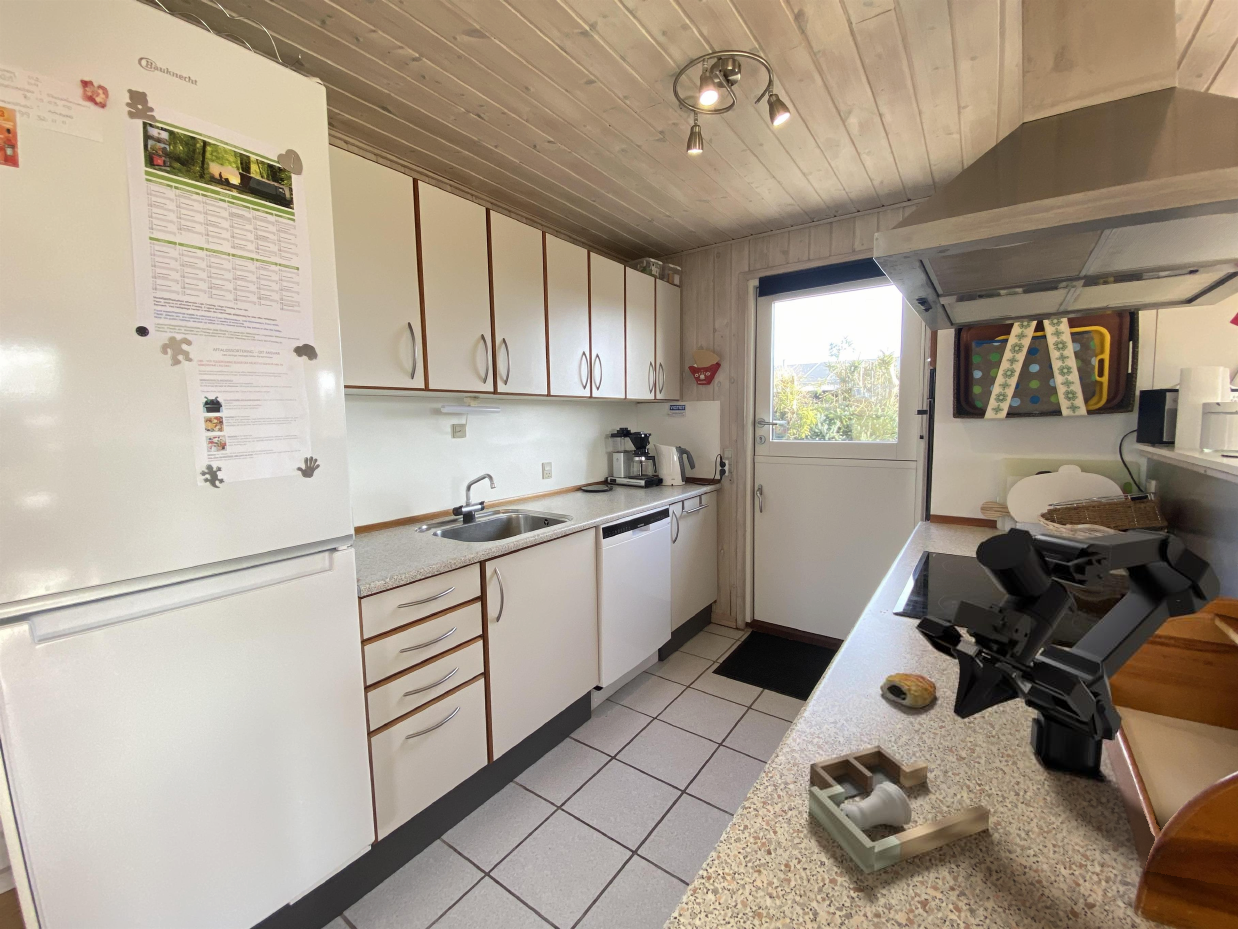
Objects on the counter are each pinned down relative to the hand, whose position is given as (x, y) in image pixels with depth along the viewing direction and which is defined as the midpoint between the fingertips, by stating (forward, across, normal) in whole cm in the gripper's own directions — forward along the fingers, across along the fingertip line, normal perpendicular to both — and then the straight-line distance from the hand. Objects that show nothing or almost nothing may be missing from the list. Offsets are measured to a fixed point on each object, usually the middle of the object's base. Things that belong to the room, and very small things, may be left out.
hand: (958, 716), depth 62 cm
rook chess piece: (+12, 0, 0) cm, 12 cm away
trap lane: (+14, -2, +1) cm, 15 cm away
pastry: (-2, -20, +19) cm, 27 cm away
